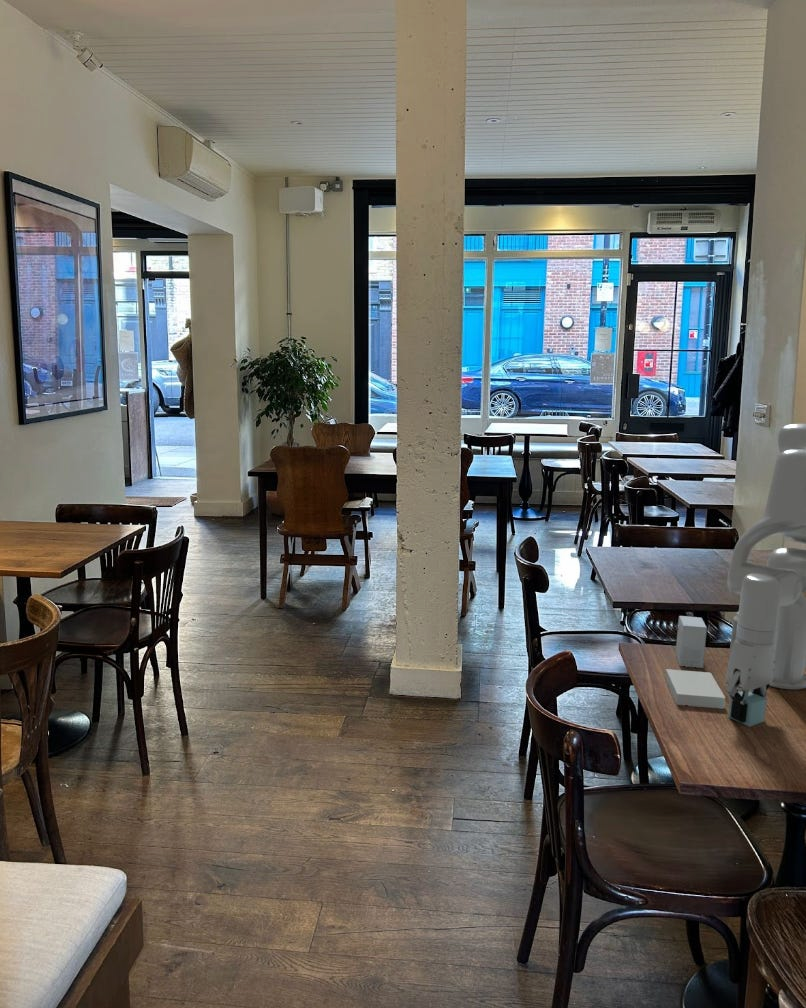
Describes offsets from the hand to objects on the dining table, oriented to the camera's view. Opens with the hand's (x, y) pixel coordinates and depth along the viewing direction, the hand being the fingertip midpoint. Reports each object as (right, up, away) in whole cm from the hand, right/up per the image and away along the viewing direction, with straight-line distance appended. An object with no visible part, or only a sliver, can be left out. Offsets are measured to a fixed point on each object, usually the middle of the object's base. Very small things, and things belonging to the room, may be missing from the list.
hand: (746, 715), depth 170 cm
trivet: (-7, +2, +12) cm, 14 cm away
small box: (-1, +5, +31) cm, 31 cm away
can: (+14, +5, +34) cm, 37 cm away
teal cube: (0, -1, 0) cm, 1 cm away
